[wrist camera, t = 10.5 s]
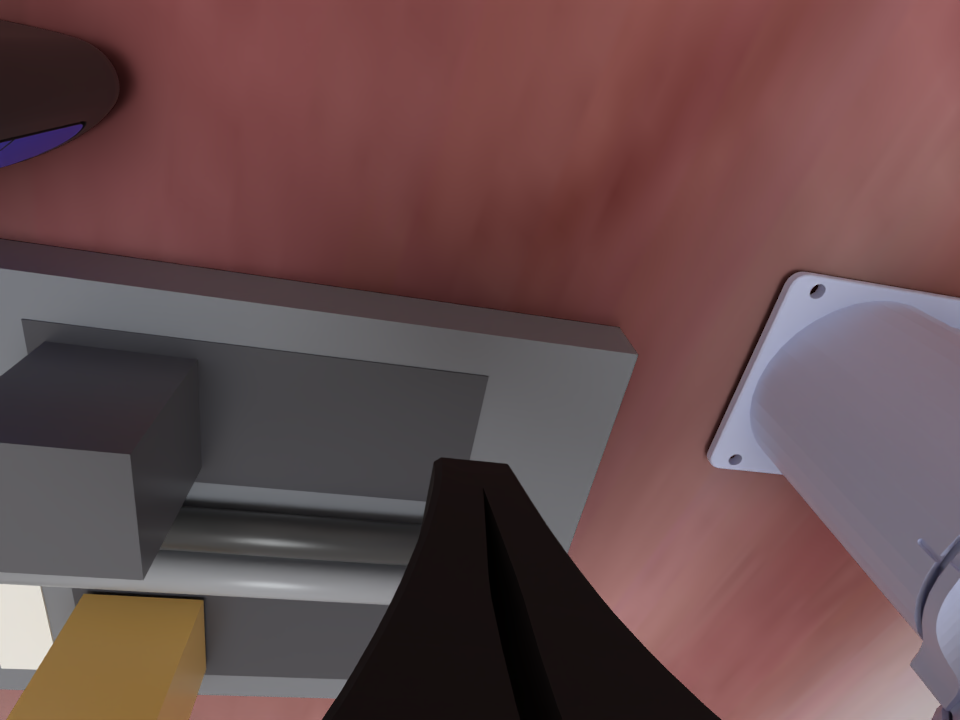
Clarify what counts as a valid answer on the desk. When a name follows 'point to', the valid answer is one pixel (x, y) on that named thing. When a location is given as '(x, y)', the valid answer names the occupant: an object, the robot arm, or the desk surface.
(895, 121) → the desk surface
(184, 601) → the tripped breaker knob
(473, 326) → the slider rail fixture
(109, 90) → the leaning round-cornered charcoal block
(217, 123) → the desk surface
